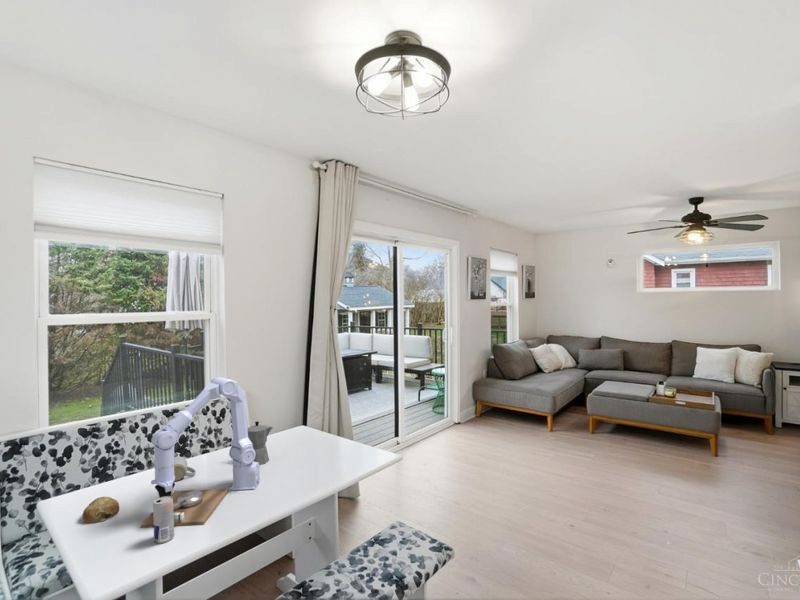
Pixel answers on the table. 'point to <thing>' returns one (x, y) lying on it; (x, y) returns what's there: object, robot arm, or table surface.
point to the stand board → (193, 508)
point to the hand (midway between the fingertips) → (165, 505)
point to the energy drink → (163, 519)
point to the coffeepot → (259, 441)
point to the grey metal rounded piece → (188, 499)
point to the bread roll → (100, 510)
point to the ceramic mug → (182, 468)
